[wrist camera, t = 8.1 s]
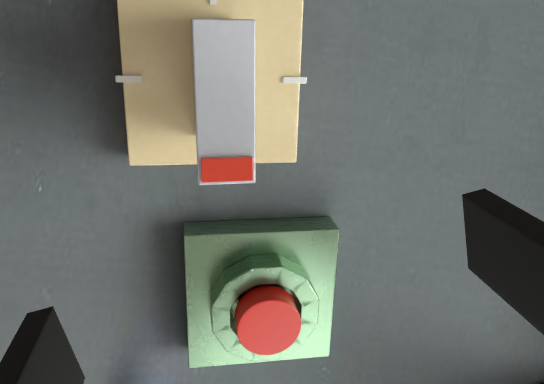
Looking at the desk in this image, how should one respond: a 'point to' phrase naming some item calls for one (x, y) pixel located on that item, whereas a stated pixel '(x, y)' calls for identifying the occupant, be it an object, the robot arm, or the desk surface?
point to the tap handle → (224, 99)
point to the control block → (257, 283)
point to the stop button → (267, 320)
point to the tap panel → (179, 83)
